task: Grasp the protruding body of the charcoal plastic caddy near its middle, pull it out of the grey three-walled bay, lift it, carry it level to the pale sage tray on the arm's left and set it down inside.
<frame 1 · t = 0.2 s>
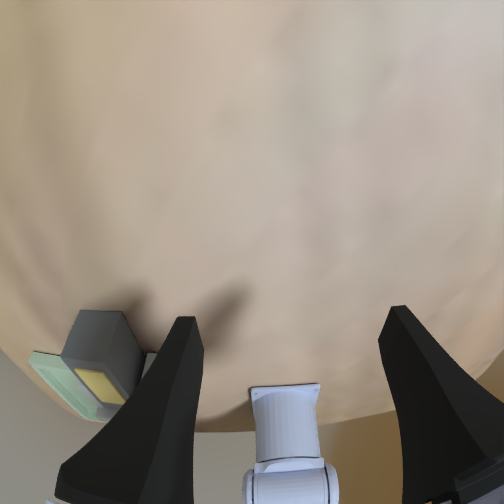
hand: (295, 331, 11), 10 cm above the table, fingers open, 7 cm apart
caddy: (116, 341, 28), on the table
tray: (88, 390, 36), on the table
bay: (130, 366, 31), on the table
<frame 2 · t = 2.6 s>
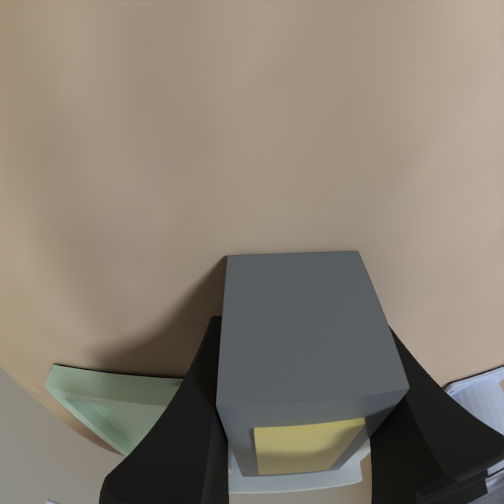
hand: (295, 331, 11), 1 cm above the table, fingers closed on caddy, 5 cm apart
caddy: (289, 334, 13), on the table, touching gripper
tray: (154, 426, 21), on the table
bay: (285, 382, 16), on the table
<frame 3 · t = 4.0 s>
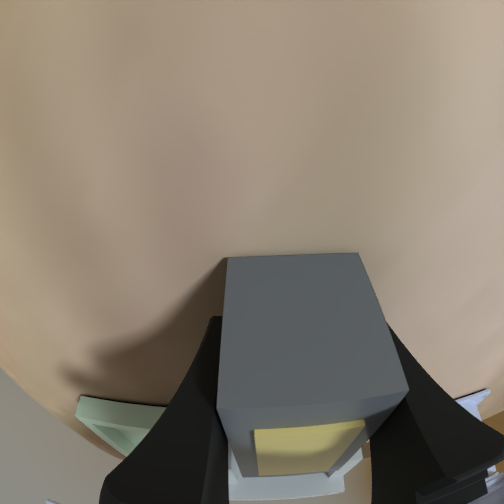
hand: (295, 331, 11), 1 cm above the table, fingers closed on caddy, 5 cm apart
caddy: (289, 335, 13), on the table, touching gripper
tray: (167, 441, 24), on the table
bay: (282, 411, 19), on the table
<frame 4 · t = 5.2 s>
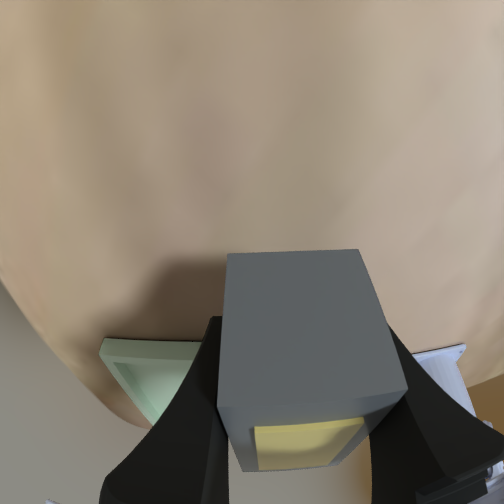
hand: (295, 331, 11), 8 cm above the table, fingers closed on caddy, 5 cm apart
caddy: (289, 330, 13), point 6 cm above the table, touching gripper
tray: (176, 388, 29), on the table
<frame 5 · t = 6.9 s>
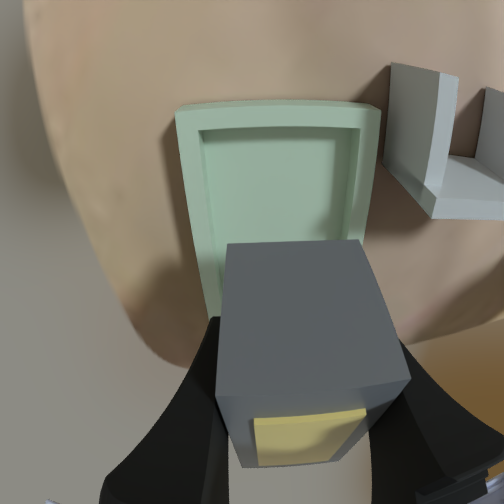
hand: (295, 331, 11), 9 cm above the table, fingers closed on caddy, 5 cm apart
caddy: (289, 323, 13), point 7 cm above the table, touching gripper
tray: (278, 239, 19), on the table
bay: (445, 122, 14), on the table
when the fingers open (3 cm above the table, at t = 8.3 s): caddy drops 1 cm, resting on tray.
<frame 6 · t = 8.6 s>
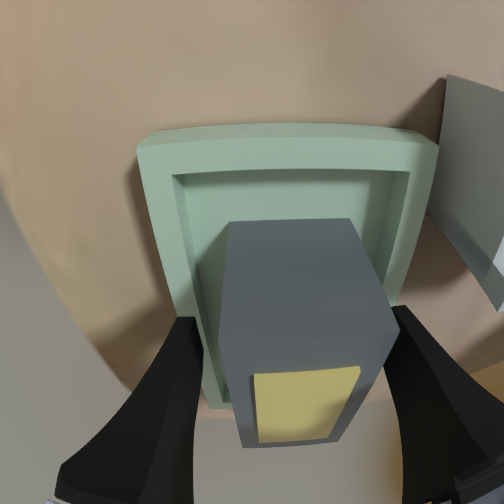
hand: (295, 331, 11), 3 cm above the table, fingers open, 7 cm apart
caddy: (287, 303, 14), resting on tray
tray: (285, 302, 15), on the table
bay: (501, 156, 10), on the table
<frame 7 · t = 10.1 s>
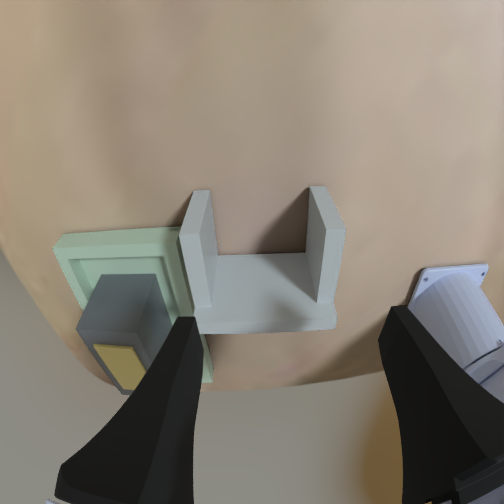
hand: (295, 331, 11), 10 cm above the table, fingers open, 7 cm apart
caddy: (143, 314, 24), resting on tray
tray: (145, 313, 25), on the table
bay: (261, 229, 20), on the table
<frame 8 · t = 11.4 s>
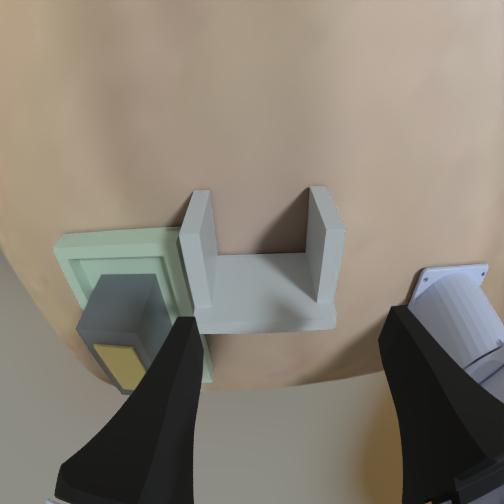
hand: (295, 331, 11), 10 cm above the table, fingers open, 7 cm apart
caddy: (143, 314, 24), resting on tray
tray: (145, 313, 25), on the table
bay: (261, 229, 20), on the table
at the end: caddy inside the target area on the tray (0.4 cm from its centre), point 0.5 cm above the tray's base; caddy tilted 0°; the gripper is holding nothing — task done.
